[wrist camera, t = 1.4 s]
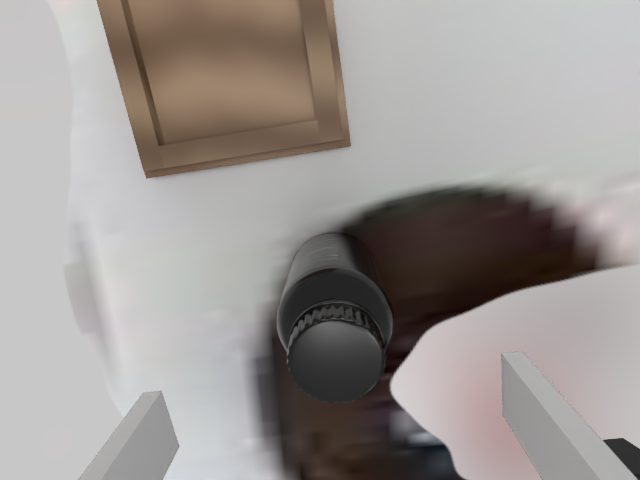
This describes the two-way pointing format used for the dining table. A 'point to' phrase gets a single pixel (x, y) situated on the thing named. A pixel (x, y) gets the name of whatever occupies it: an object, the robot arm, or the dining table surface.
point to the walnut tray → (227, 79)
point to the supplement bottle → (335, 319)
